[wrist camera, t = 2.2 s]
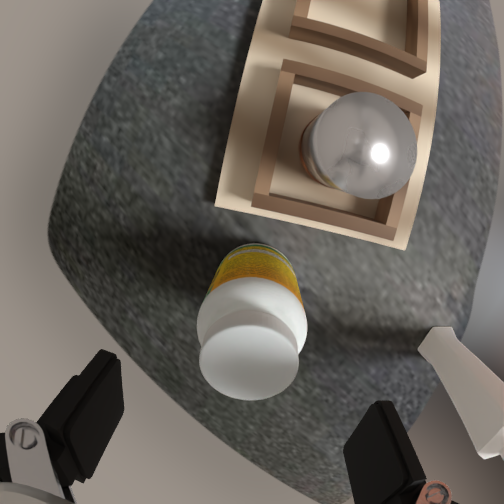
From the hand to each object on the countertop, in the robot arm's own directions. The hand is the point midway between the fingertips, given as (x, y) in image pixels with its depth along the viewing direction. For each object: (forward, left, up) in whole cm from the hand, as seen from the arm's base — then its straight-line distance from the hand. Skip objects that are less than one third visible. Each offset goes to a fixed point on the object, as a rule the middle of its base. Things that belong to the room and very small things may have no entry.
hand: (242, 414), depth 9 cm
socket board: (-16, +3, -12) cm, 20 cm away
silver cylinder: (-10, +3, -11) cm, 15 cm away
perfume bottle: (+2, +17, -12) cm, 21 cm away
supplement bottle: (-1, 0, -12) cm, 12 cm away
